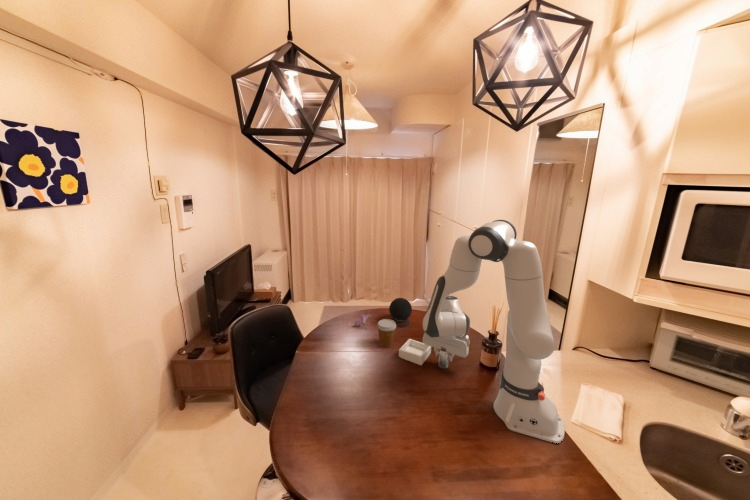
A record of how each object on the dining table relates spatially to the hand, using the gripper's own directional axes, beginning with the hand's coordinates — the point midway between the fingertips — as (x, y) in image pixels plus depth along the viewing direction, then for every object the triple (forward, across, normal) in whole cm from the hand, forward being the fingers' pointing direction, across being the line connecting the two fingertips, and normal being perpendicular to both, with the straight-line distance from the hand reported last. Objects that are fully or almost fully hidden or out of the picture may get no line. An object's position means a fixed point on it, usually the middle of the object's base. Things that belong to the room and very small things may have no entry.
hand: (443, 358), depth 130 cm
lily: (+4, +50, -8) cm, 51 cm away
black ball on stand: (+4, +35, -25) cm, 43 cm away
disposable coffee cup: (+4, +30, 0) cm, 30 cm away
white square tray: (+4, +14, 0) cm, 14 cm away
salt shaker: (+4, 0, 0) cm, 4 cm away
